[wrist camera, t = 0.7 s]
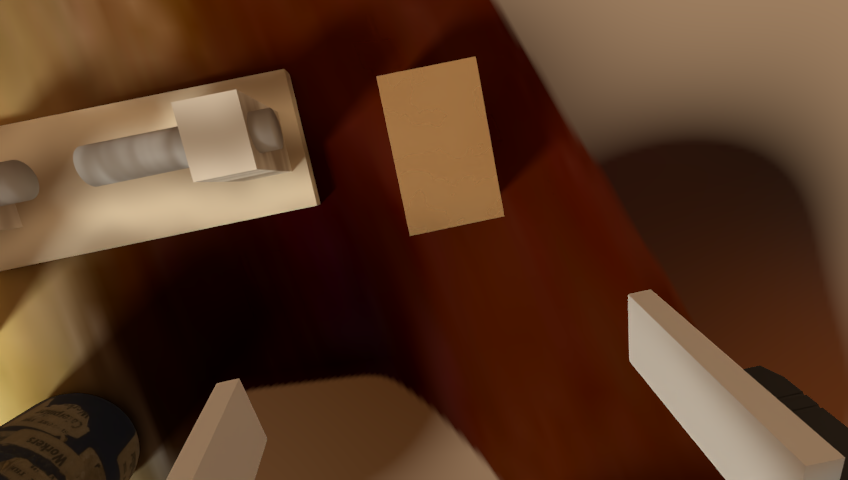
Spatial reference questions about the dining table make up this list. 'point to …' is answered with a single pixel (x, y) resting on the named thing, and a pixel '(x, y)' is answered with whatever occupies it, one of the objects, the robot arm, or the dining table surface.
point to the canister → (69, 441)
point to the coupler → (441, 145)
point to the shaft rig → (151, 168)
